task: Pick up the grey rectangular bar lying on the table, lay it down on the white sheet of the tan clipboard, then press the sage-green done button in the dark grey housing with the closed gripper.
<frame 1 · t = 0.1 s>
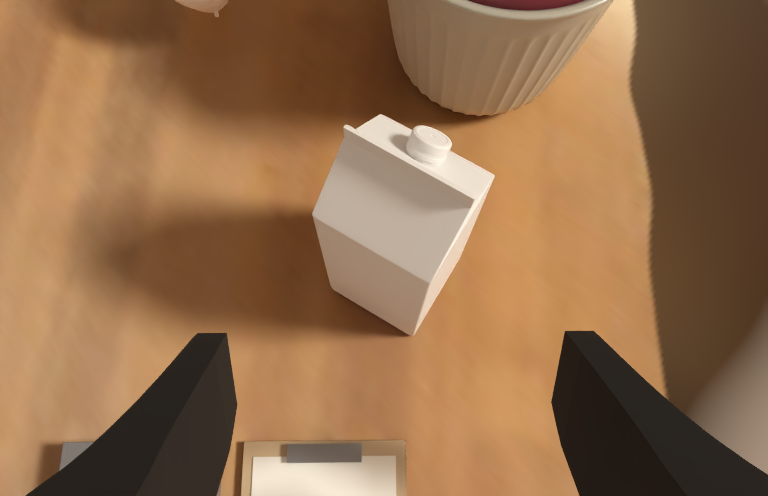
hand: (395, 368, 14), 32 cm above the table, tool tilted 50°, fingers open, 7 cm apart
milk carton: (395, 273, 48), on the table
canister: (474, 58, 54), on the table
spinning top: (217, 17, 55), on the table
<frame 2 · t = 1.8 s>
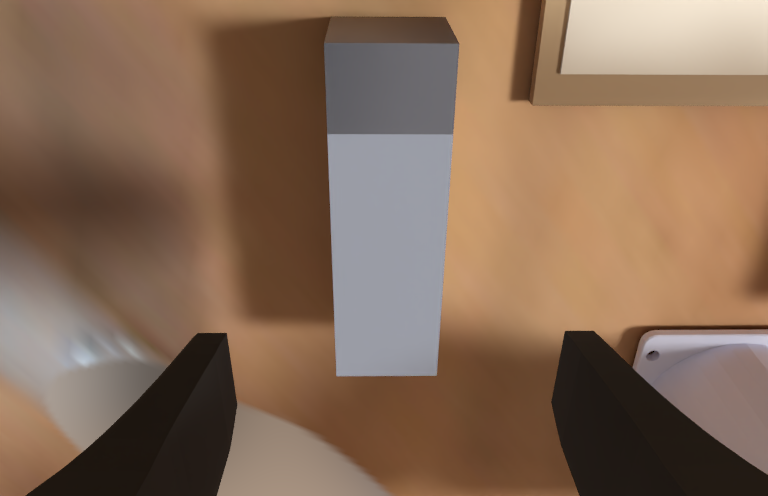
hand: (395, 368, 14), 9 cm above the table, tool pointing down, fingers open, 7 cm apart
grey rectangular bar: (386, 185, 22), on the table
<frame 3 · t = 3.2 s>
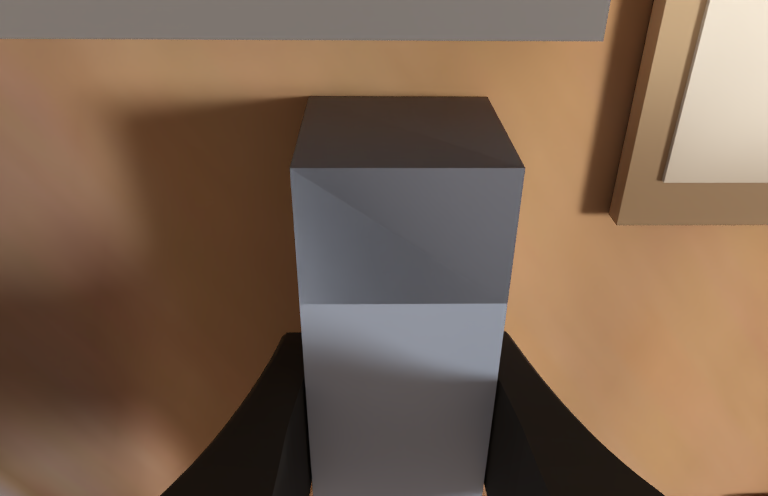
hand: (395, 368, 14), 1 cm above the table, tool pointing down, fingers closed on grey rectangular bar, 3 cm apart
grey rectangular bar: (393, 327, 15), on the table, touching gripper
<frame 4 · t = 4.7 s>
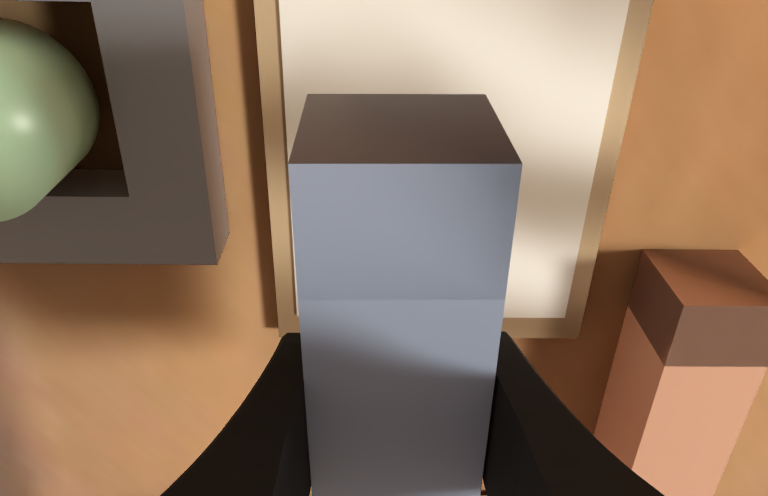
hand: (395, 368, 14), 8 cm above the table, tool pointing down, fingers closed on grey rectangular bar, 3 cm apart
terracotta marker: (653, 369, 25), on the table
clipboard: (441, 153, 20), on the table
grey rectangular bar: (392, 324, 15), point 7 cm above the table, touching gripper
button housing: (43, 84, 19), on the table
when the fingers open (3 cm above the table, at t = 6.1 s): grey rectangular bar stays where it is, resting on clipboard.
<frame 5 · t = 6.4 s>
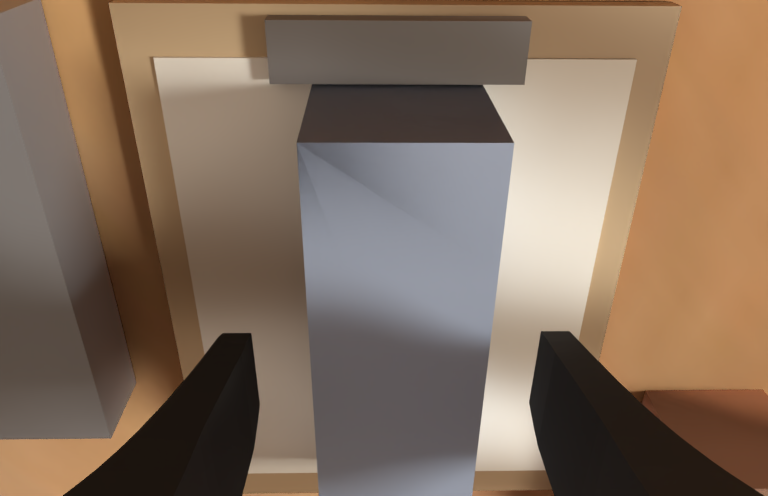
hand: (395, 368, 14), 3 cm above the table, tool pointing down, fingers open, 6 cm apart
clipboard: (391, 291, 16), on the table
grey rectangular bar: (392, 303, 16), point 1 cm above the table, touching clipboard
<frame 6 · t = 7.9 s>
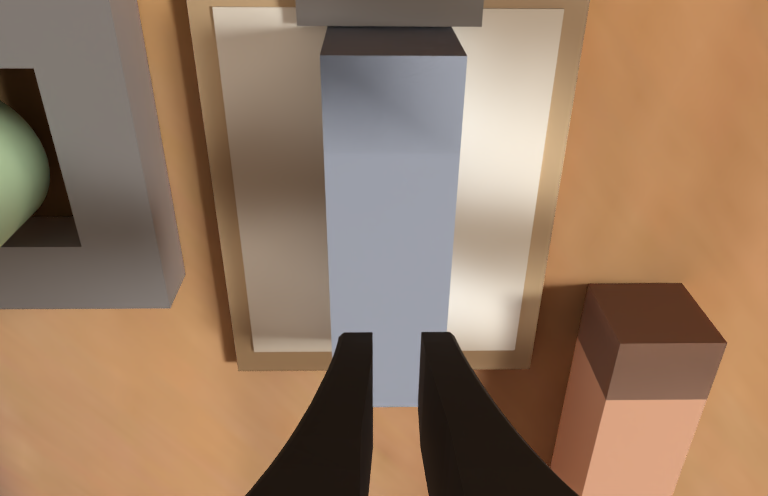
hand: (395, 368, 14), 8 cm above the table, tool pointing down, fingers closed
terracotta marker: (606, 396, 26), on the table
clipboard: (386, 197, 21), on the table
grey rectangular bar: (387, 203, 20), point 1 cm above the table, touching clipboard
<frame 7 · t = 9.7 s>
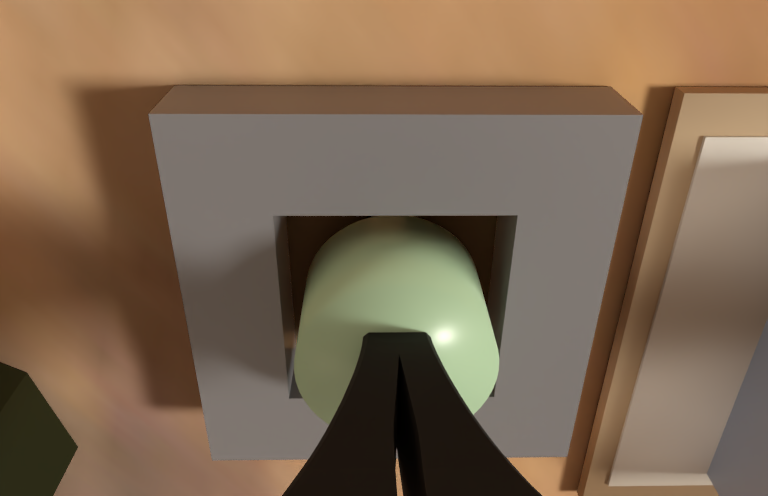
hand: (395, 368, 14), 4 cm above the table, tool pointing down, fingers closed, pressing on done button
done button: (394, 327, 15), point 2 cm above the table, slide at 0.6 cm, touching gripper
button housing: (391, 270, 17), on the table
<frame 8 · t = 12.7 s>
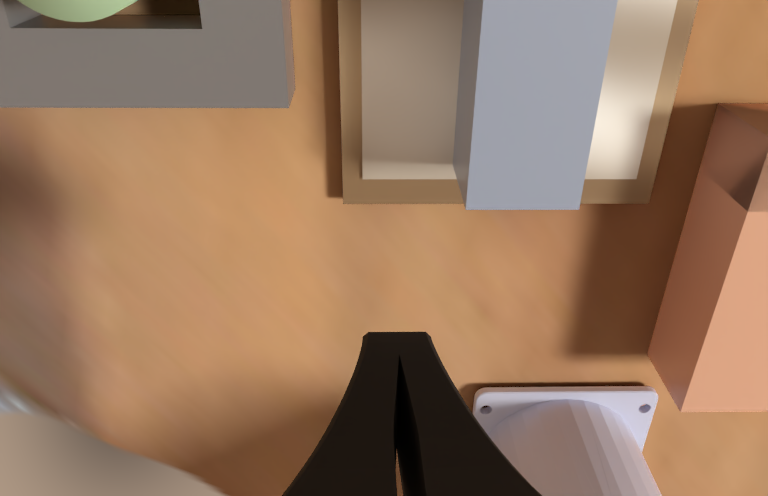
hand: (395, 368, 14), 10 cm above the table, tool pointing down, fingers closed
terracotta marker: (721, 242, 25), on the table
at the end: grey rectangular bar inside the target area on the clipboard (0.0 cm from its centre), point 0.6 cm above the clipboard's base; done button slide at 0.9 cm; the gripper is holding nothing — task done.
